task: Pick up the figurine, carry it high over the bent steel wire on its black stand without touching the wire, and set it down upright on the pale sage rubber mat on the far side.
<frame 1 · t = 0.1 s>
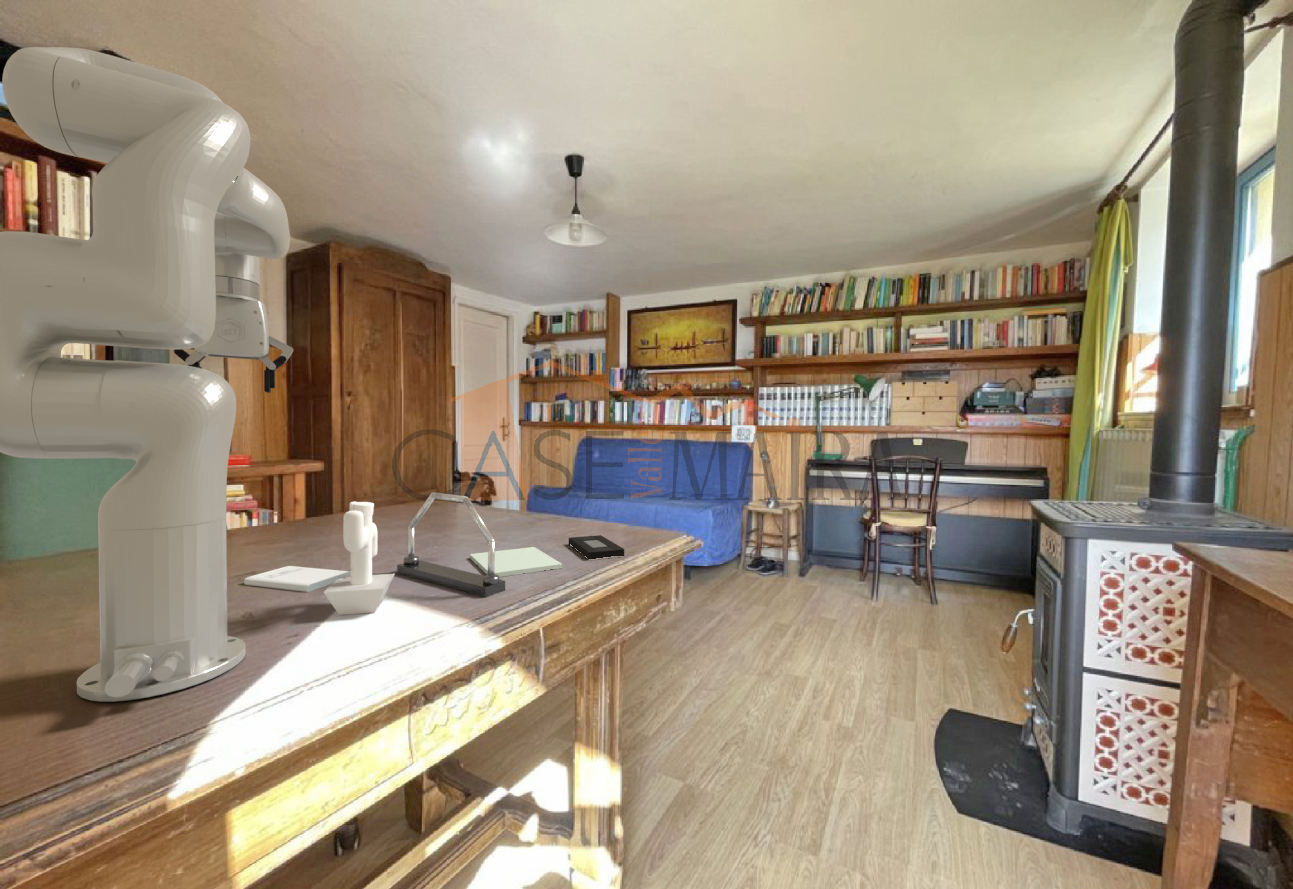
hand: (233, 390, 90), 31 cm above the table, tool pointing down, fingers open, 9 cm apart
vhs tape: (595, 553, 108), on the table
mat: (514, 563, 96), on the table
figurine: (361, 609, 71), on the table
external hard drive: (298, 584, 83), on the table
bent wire: (448, 581, 84), on the table
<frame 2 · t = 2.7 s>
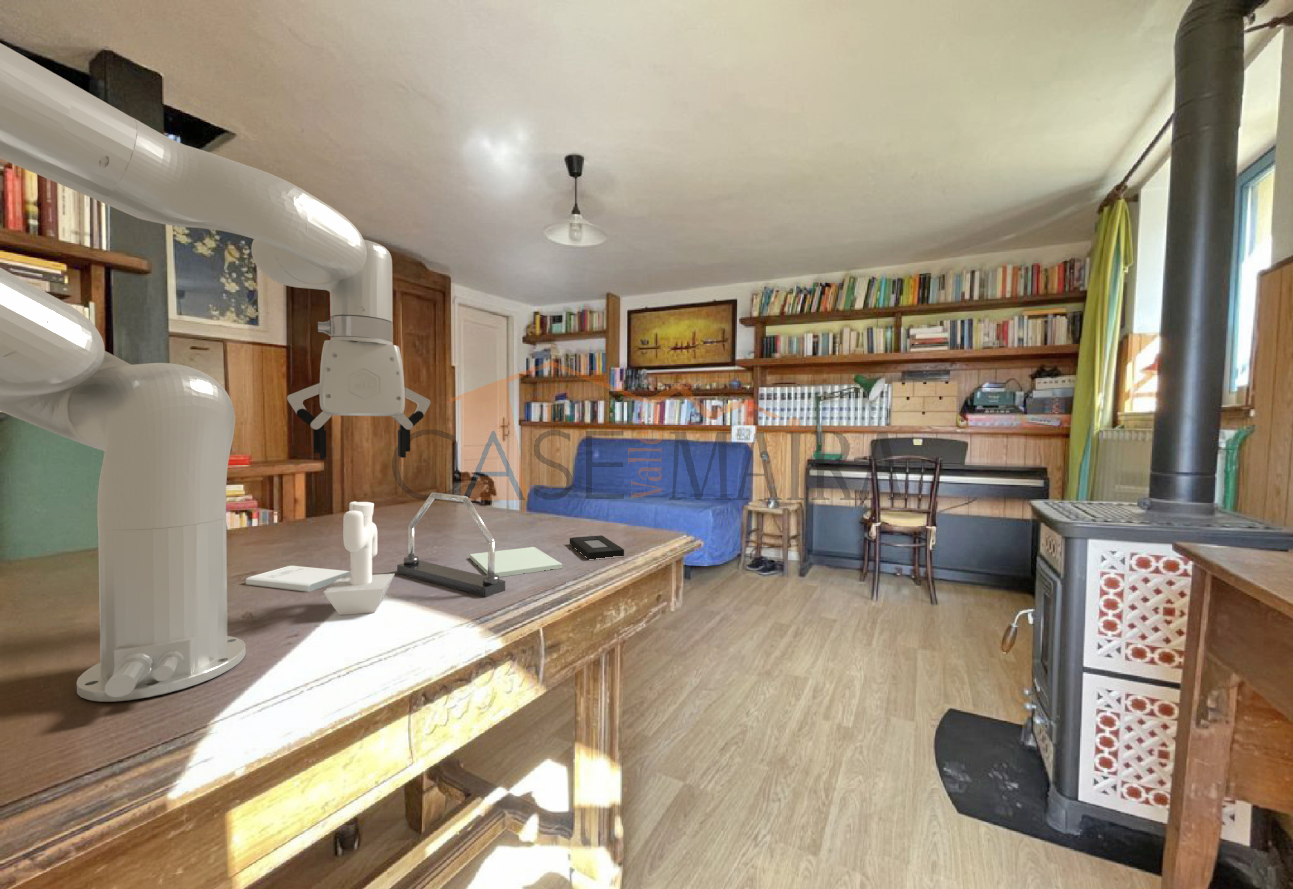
hand: (363, 457, 71), 21 cm above the table, tool pointing down, fingers open, 9 cm apart
nothing on the table moved.
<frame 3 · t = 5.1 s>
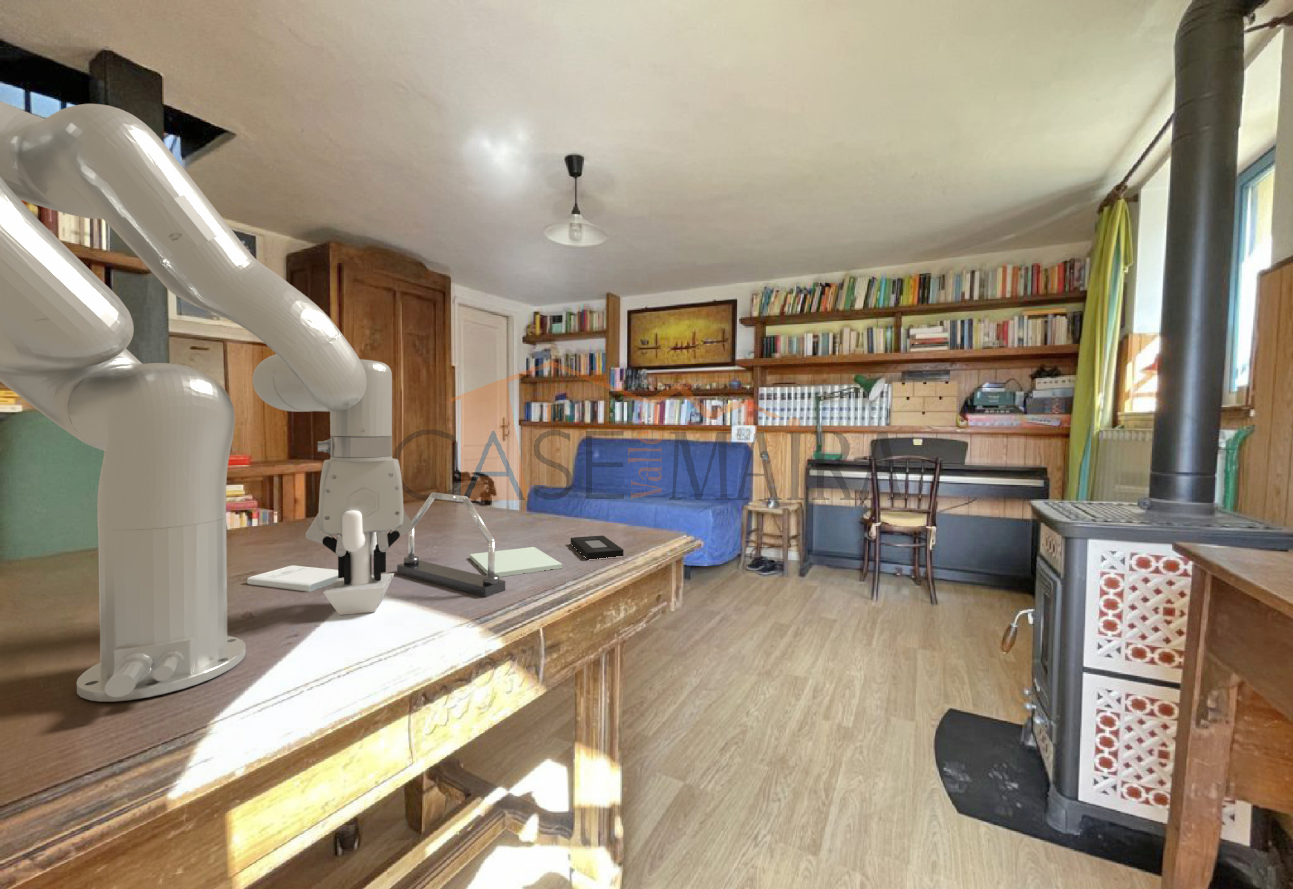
hand: (362, 579, 71), 4 cm above the table, tool pointing down, fingers closed on figurine, 3 cm apart
figurine: (361, 609, 71), on the table, touching gripper
everything else where it was.
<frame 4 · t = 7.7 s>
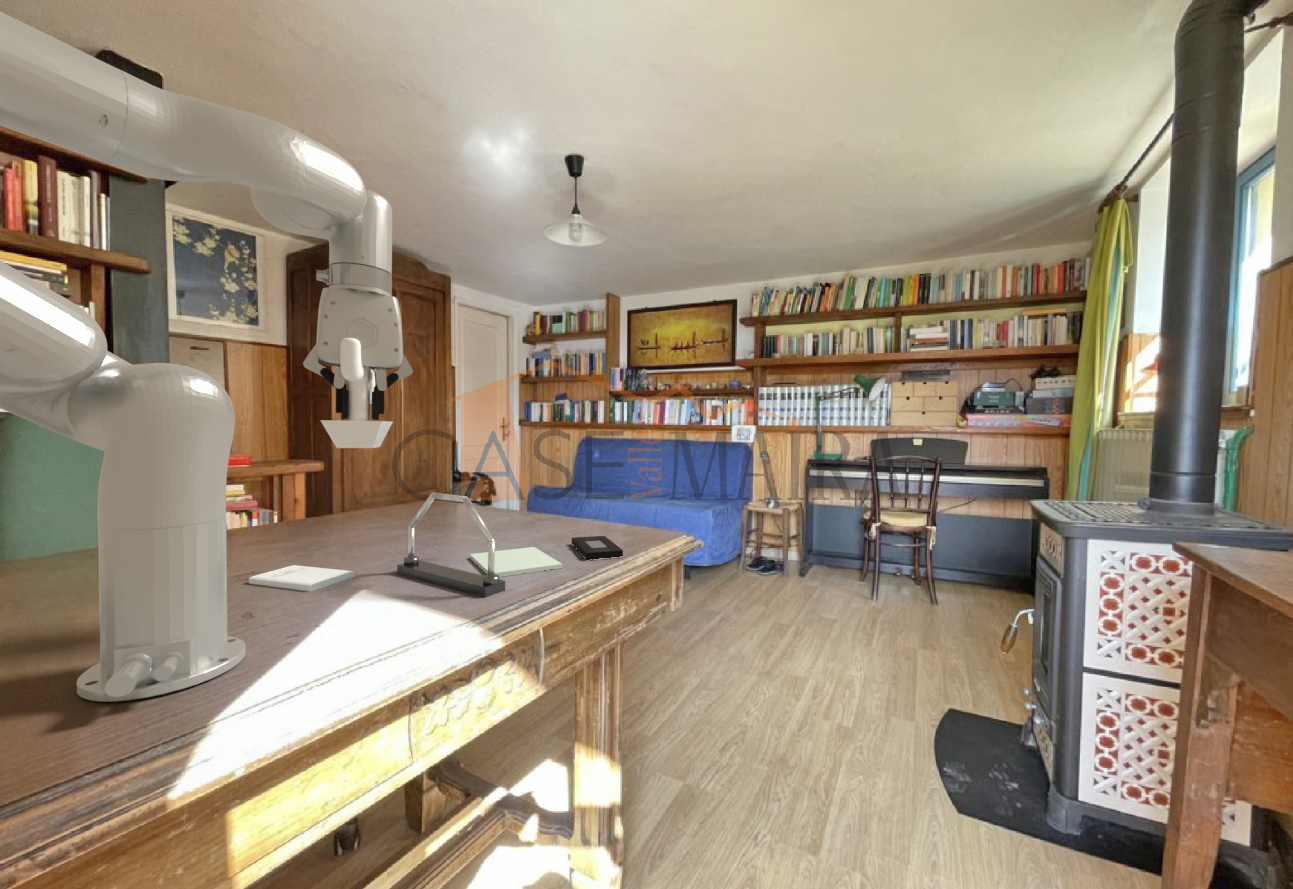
hand: (360, 417, 70), 27 cm above the table, tool pointing down, fingers closed on figurine, 3 cm apart
figurine: (359, 448, 70), point 22 cm above the table, touching gripper
everything else where it was.
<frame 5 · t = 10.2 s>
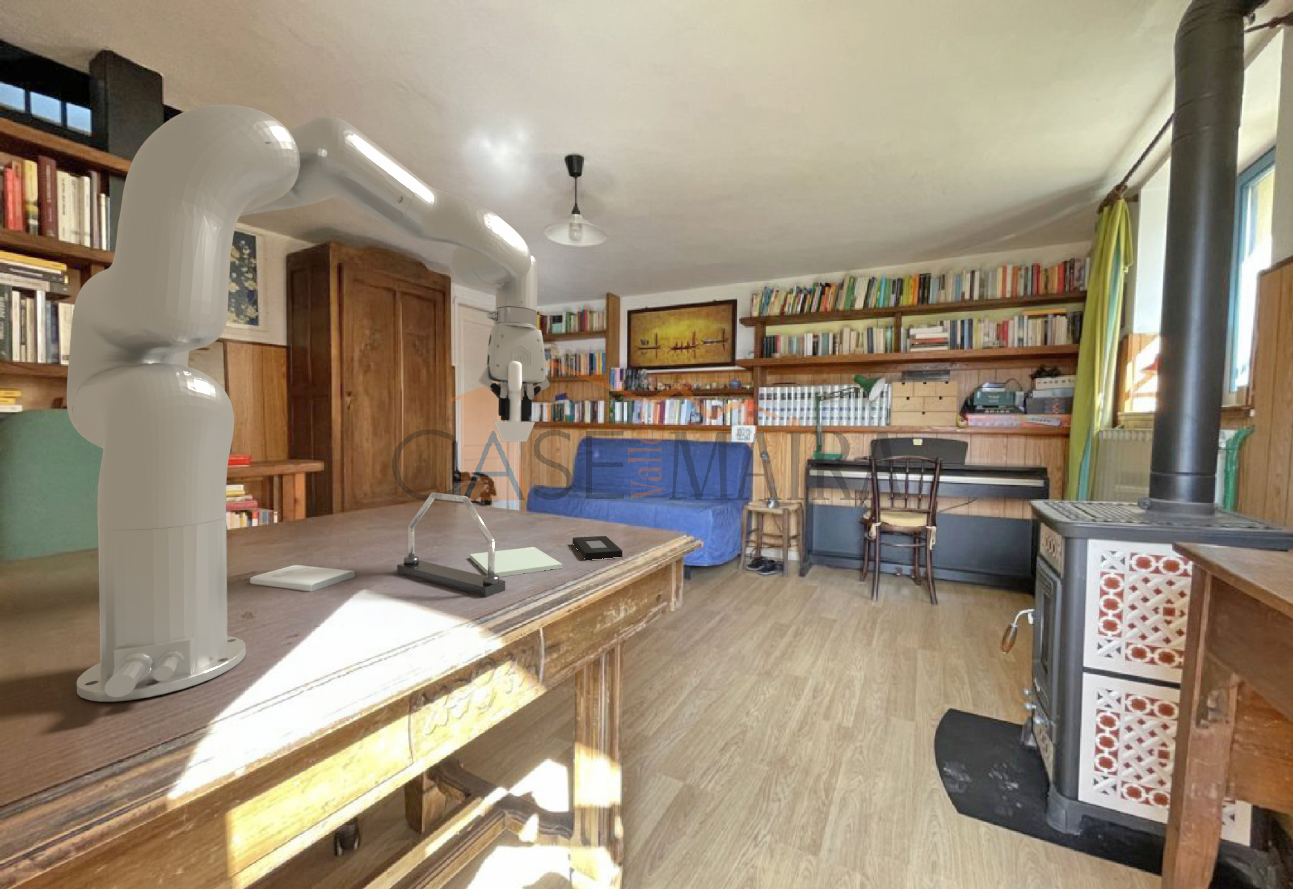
hand: (514, 419, 95), 27 cm above the table, tool pointing down, fingers closed on figurine, 3 cm apart
figurine: (513, 442, 95), point 23 cm above the table, touching gripper
everything else where it was.
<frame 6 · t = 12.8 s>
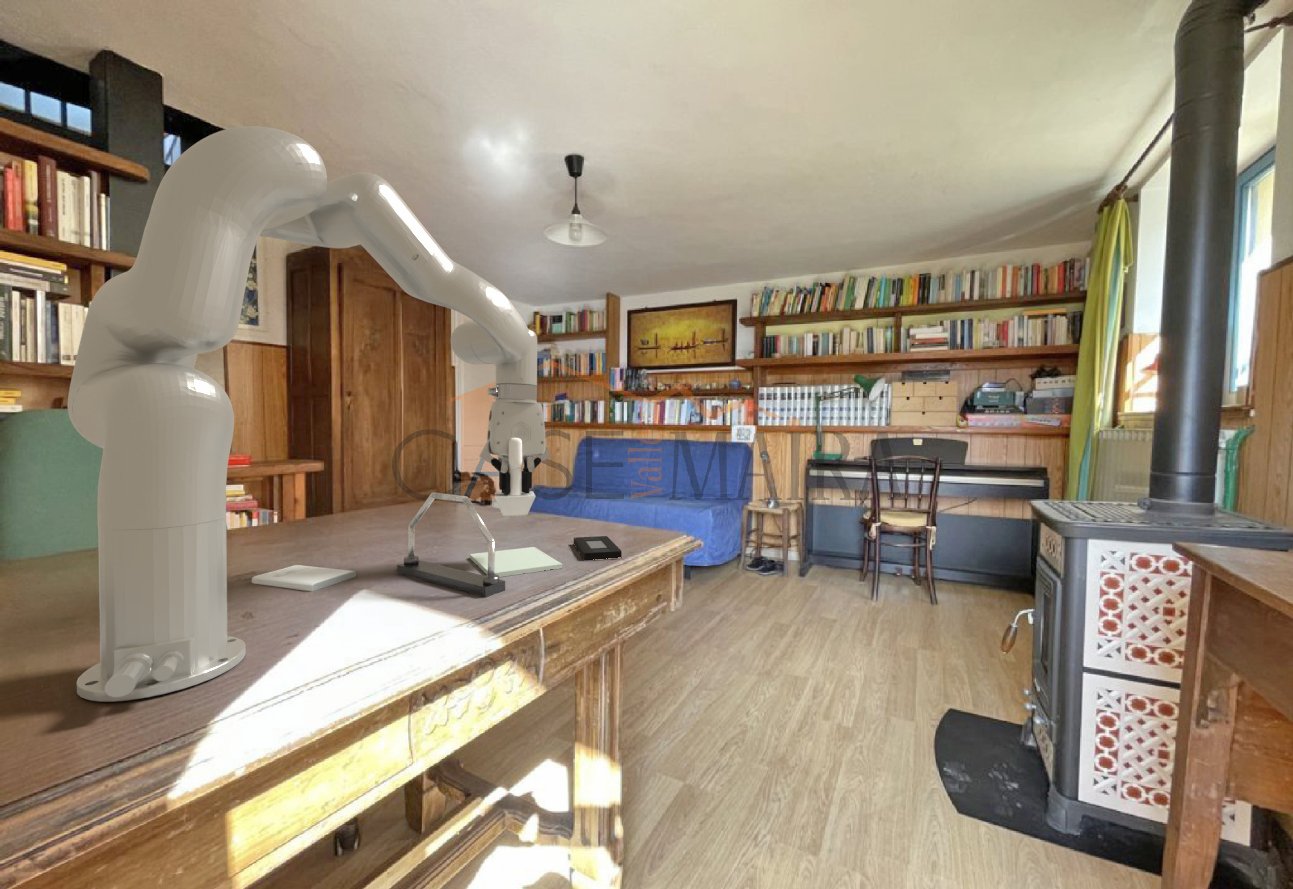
hand: (515, 492, 96), 13 cm above the table, tool pointing down, fingers closed on figurine, 3 cm apart
figurine: (514, 514, 96), point 9 cm above the table, touching gripper
everything else where it was.
when the fingers open (6 cm above the table, at t = 15.0 s): figurine drops 1 cm, resting on mat.
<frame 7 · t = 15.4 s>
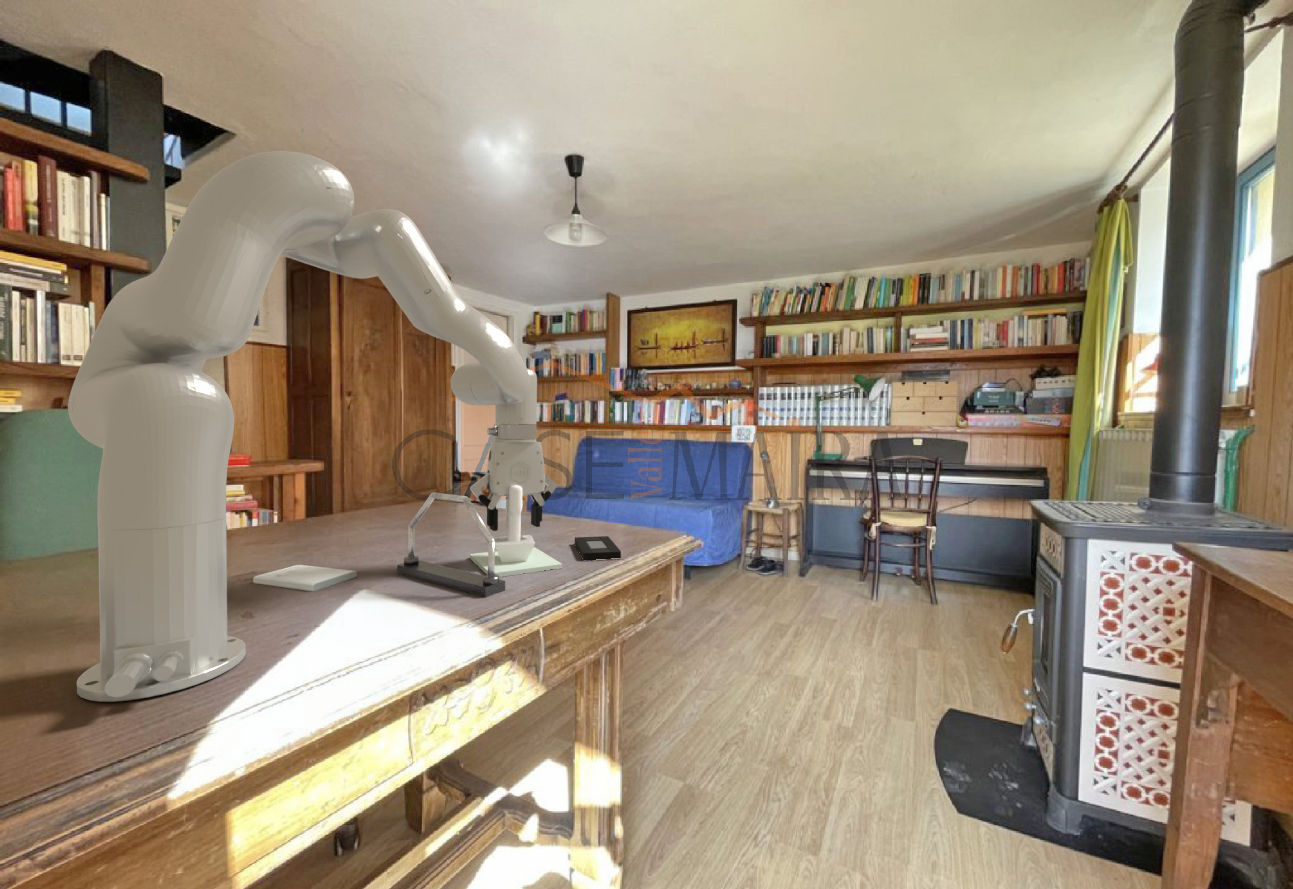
hand: (514, 527, 96), 7 cm above the table, tool pointing down, fingers open, 7 cm apart
figurine: (513, 560, 96), point 1 cm above the table, touching mat
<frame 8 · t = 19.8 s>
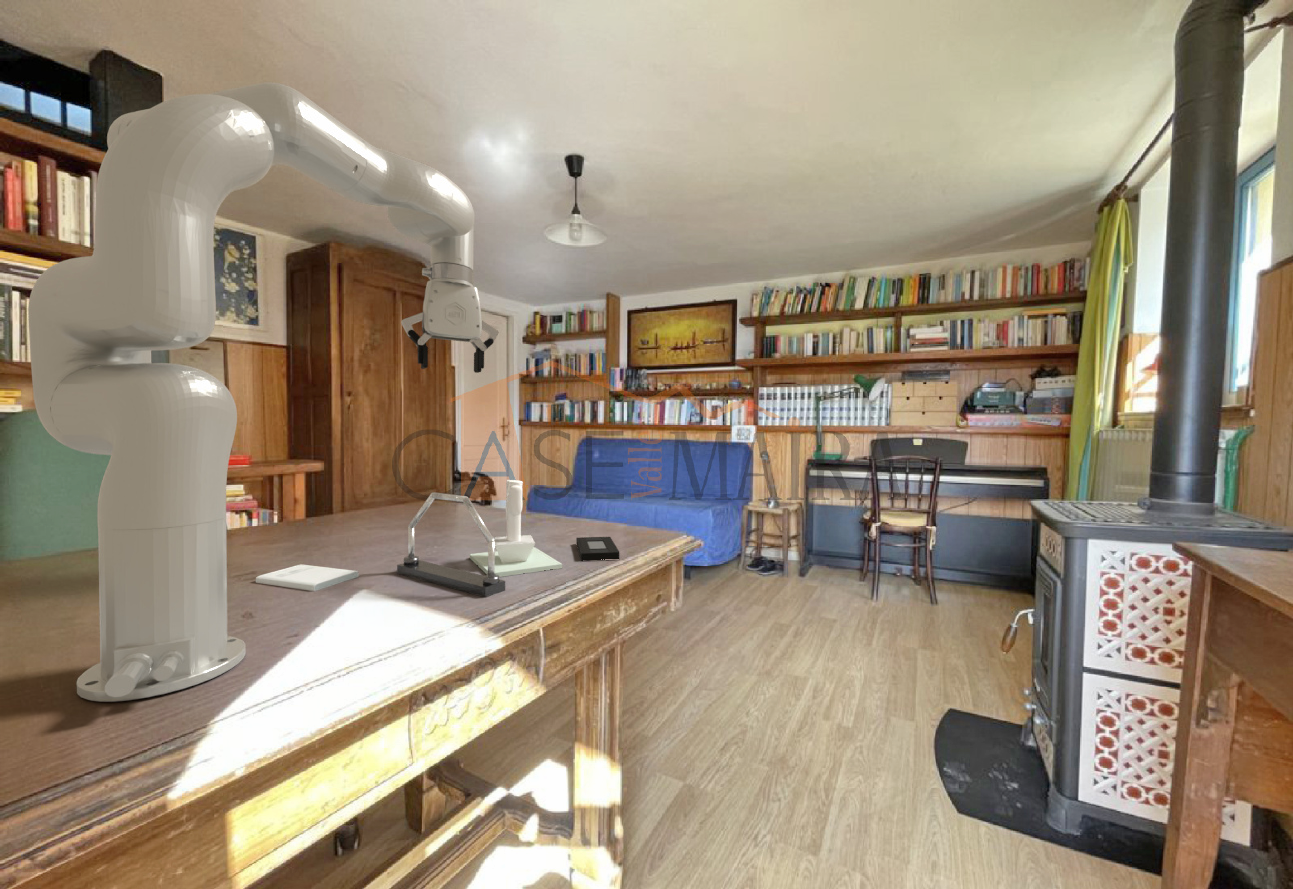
hand: (451, 370, 97), 36 cm above the table, tool pointing down, fingers open, 9 cm apart
at the end: figurine inside the target area on the mat (0.3 cm from its centre), point 0.6 cm above the mat's base; figurine tilted 0°; figurine touching mat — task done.
